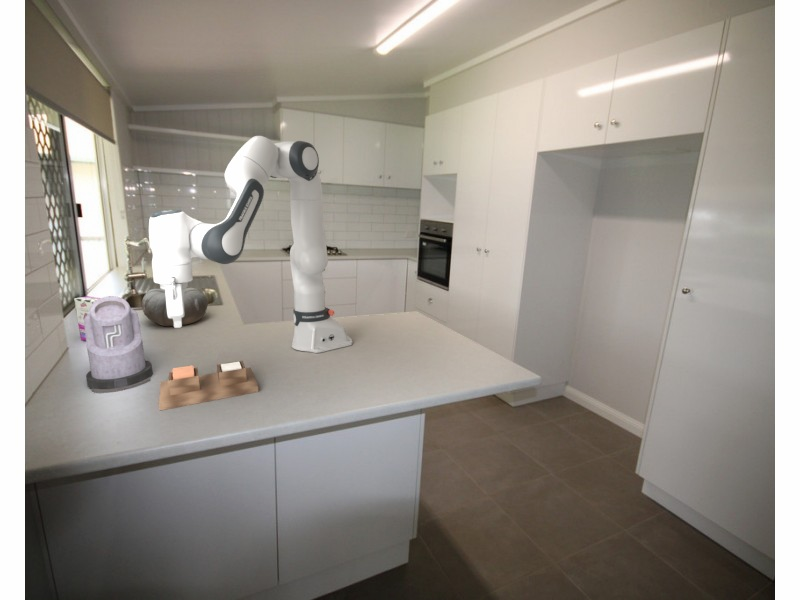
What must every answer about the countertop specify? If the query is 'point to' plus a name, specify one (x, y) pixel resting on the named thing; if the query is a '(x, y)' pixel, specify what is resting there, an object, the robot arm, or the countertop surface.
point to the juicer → (115, 347)
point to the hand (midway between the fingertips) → (178, 326)
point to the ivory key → (230, 366)
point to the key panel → (206, 387)
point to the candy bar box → (83, 312)
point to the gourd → (158, 312)
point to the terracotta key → (183, 372)
